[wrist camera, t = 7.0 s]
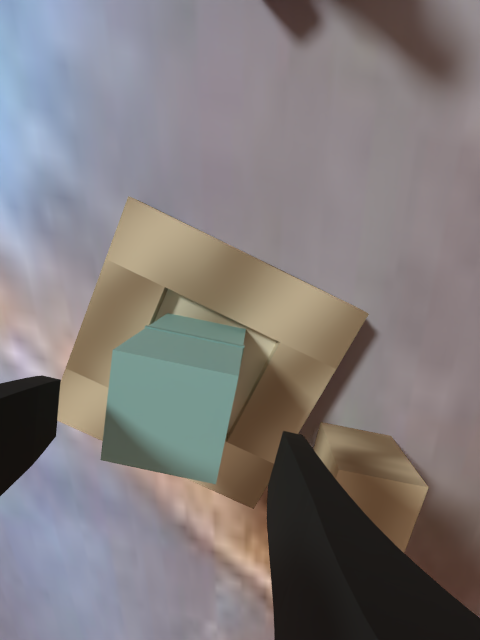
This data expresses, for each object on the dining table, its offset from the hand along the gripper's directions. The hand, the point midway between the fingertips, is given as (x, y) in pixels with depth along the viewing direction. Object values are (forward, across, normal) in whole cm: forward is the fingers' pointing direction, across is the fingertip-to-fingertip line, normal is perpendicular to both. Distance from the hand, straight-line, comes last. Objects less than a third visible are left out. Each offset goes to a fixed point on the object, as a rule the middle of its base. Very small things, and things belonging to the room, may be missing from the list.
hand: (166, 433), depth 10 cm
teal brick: (+6, 0, 0) cm, 6 cm away
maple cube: (+8, -9, +4) cm, 13 cm away
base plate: (+7, 0, 0) cm, 7 cm away
